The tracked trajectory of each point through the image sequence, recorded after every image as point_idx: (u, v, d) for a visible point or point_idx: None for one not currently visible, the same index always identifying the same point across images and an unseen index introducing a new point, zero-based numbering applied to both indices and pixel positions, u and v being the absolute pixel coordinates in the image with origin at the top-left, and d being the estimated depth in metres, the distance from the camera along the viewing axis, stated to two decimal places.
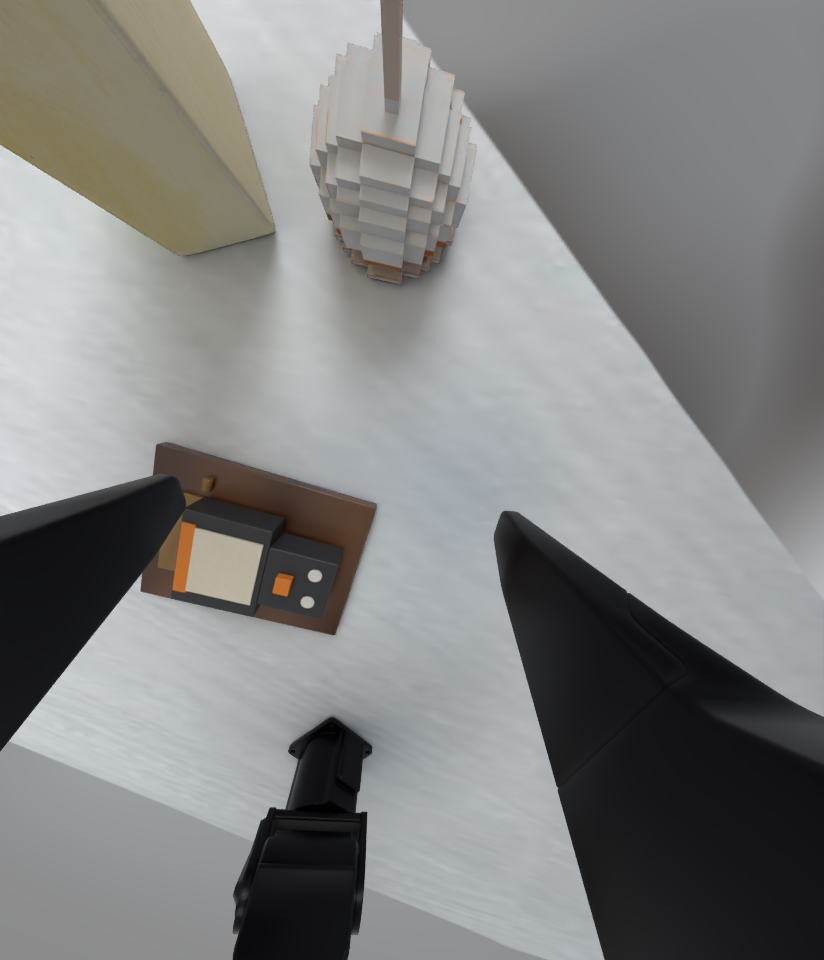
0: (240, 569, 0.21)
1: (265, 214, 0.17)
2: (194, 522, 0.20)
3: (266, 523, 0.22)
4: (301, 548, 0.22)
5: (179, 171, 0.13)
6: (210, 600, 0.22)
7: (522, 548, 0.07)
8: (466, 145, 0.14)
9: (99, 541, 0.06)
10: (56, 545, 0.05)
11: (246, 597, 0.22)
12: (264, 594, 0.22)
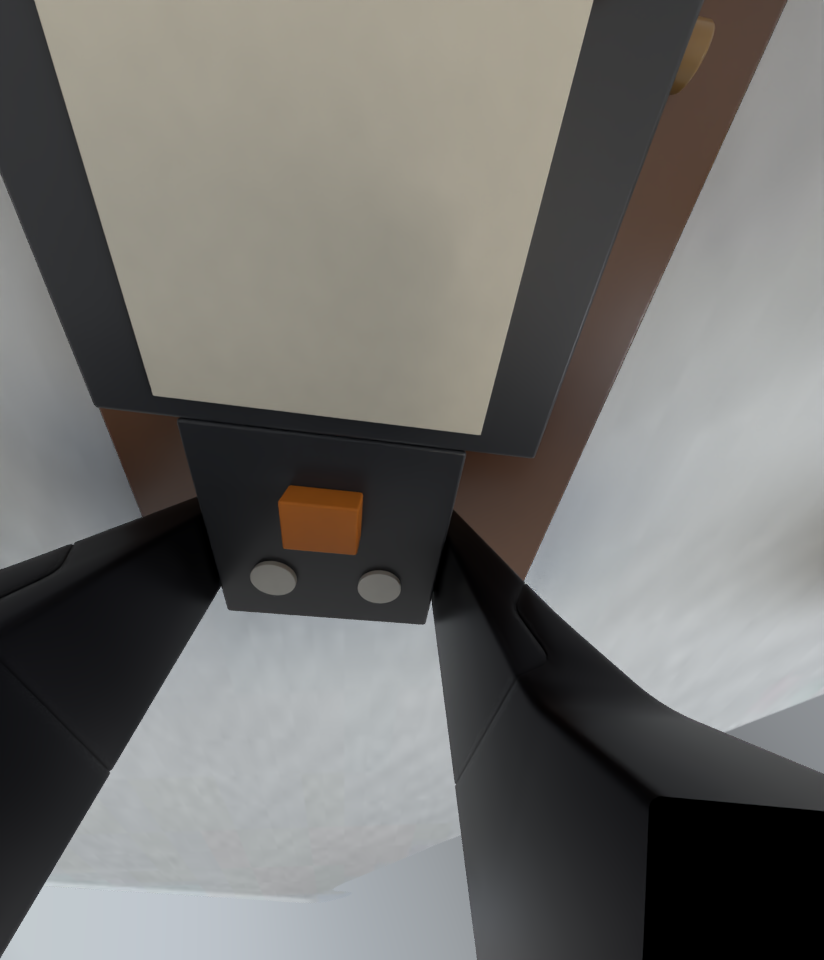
0: (338, 341, 0.04)
1: None
2: None
3: None
4: None
5: None
6: (40, 132, 0.03)
7: None
8: None
9: (198, 550, 0.06)
10: (168, 555, 0.05)
11: (191, 379, 0.04)
12: (241, 448, 0.05)
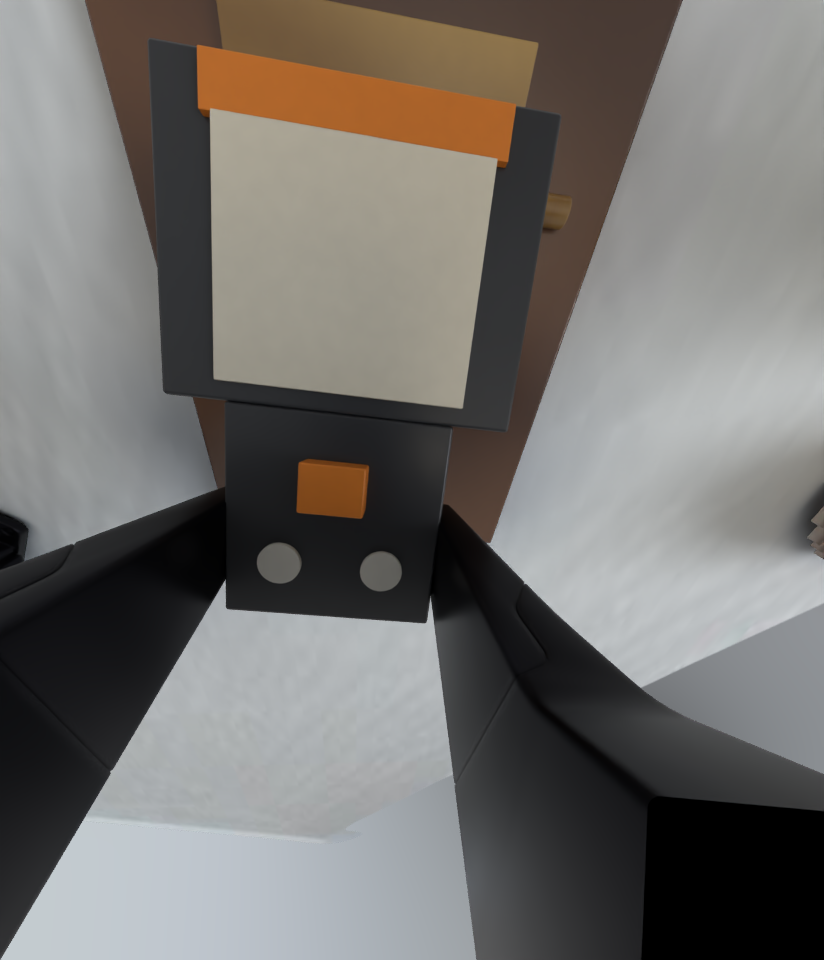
0: (356, 338, 0.06)
1: None
2: (515, 158, 0.06)
3: None
4: None
5: None
6: (189, 223, 0.06)
7: (441, 540, 0.07)
8: None
9: (198, 550, 0.06)
10: (169, 555, 0.05)
11: (245, 366, 0.06)
12: (272, 425, 0.07)
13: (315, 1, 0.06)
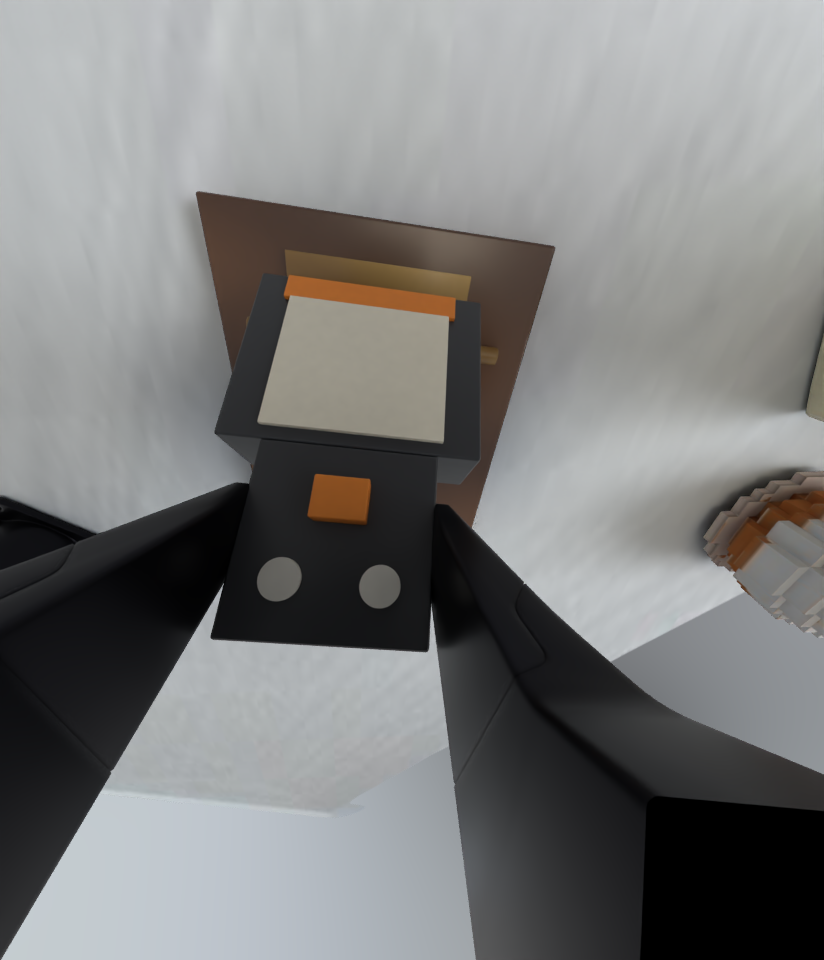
0: (365, 397, 0.09)
1: None
2: (458, 317, 0.10)
3: None
4: None
5: None
6: (263, 340, 0.09)
7: (440, 540, 0.07)
8: None
9: (198, 550, 0.06)
10: (169, 555, 0.05)
11: (283, 413, 0.08)
12: (294, 455, 0.08)
13: (342, 260, 0.11)
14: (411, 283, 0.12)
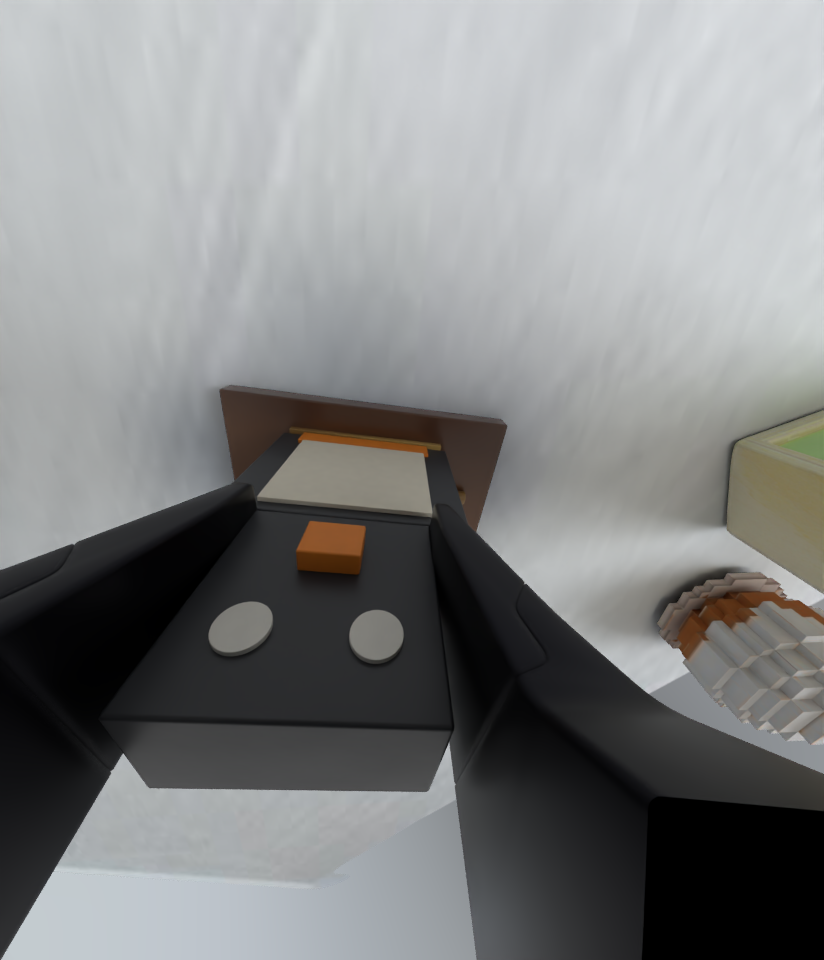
0: (359, 486, 0.10)
1: None
2: (430, 455, 0.13)
3: None
4: None
5: None
6: (275, 458, 0.11)
7: (441, 540, 0.07)
8: None
9: (198, 550, 0.06)
10: (169, 555, 0.05)
11: (283, 492, 0.09)
12: (287, 521, 0.08)
13: None
14: None
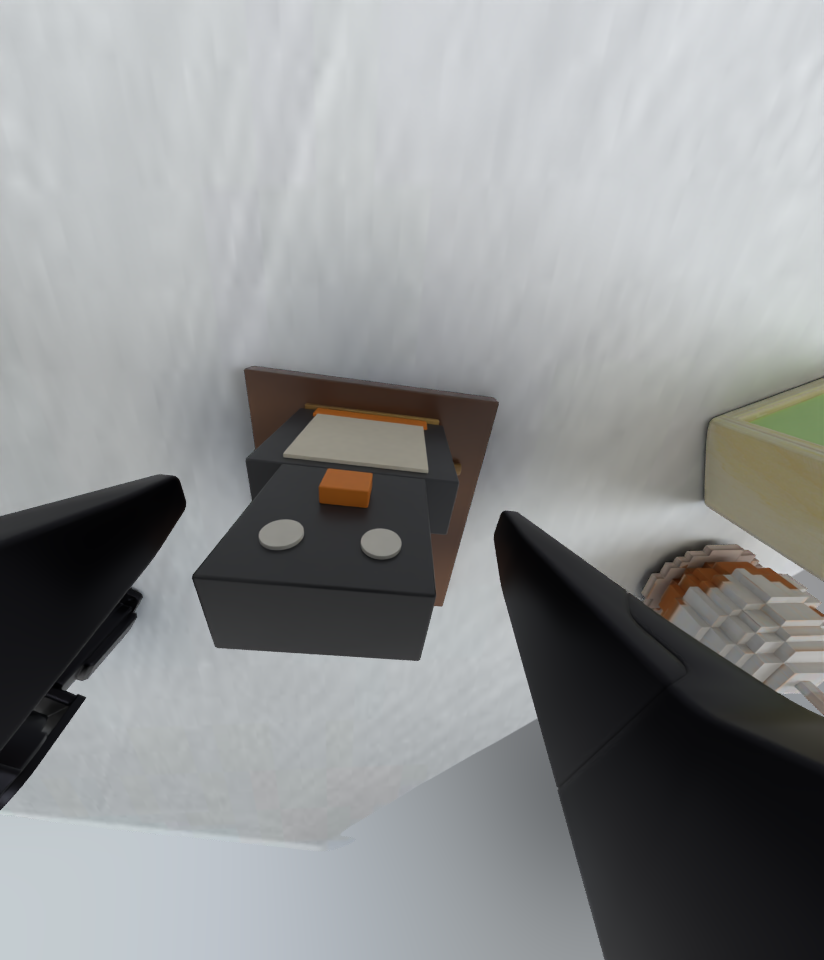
0: (367, 449, 0.12)
1: None
2: (429, 428, 0.15)
3: None
4: None
5: (820, 547, 0.14)
6: (295, 427, 0.13)
7: (522, 548, 0.07)
8: None
9: (99, 541, 0.06)
10: (56, 545, 0.05)
11: (304, 451, 0.11)
12: (309, 471, 0.10)
13: None
14: None
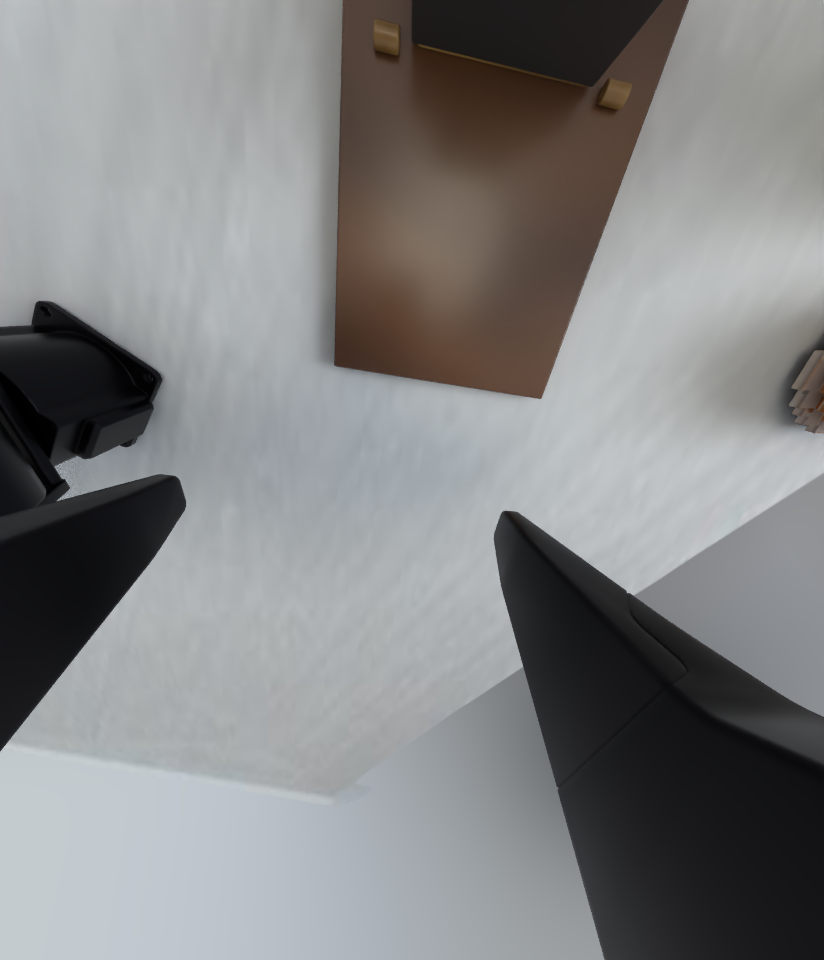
0: None
1: None
2: None
3: None
4: None
5: None
6: None
7: (522, 548, 0.07)
8: None
9: (99, 541, 0.06)
10: (56, 545, 0.05)
11: None
12: None
13: None
14: None
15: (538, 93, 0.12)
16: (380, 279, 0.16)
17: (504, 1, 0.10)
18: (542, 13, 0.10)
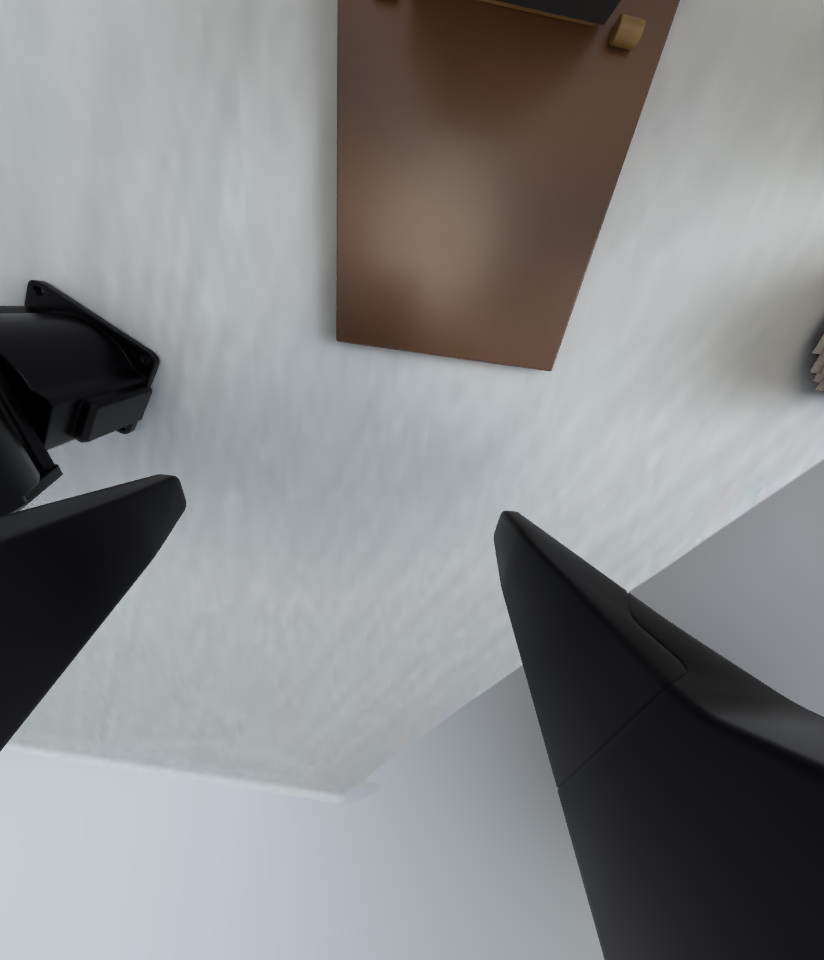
0: None
1: None
2: None
3: None
4: None
5: None
6: None
7: (522, 548, 0.07)
8: None
9: (99, 541, 0.06)
10: (56, 545, 0.05)
11: None
12: None
13: None
14: None
15: (546, 35, 0.12)
16: (383, 245, 0.15)
17: None
18: None
